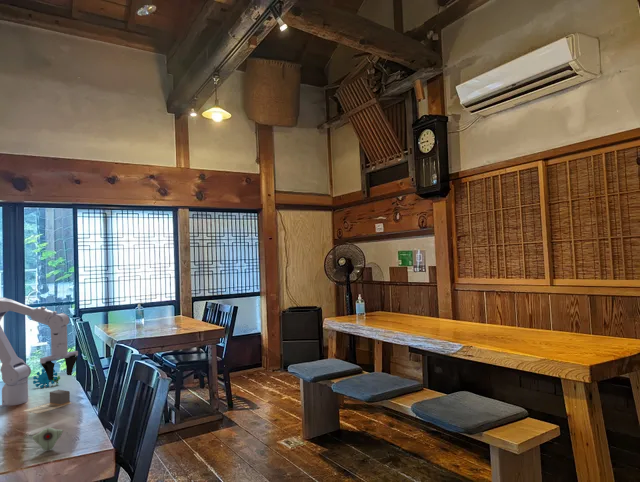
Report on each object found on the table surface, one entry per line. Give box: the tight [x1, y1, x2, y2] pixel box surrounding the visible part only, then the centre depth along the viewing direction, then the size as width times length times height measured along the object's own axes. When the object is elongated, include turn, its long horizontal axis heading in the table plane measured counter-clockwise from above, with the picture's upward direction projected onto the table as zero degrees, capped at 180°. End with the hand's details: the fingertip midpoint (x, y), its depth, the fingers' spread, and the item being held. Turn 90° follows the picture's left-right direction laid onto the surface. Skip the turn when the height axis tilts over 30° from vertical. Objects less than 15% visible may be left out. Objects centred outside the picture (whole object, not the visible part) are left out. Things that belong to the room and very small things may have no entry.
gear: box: [32, 368, 61, 389], centre depth 211 cm, size 11×6×10 cm
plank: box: [23, 402, 72, 415], centre depth 173 cm, size 10×13×1 cm
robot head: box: [31, 427, 64, 451], centre depth 133 cm, size 8×4×7 cm, turn 121°
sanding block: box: [49, 389, 71, 405], centre depth 177 cm, size 7×4×4 cm, turn 62°
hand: (60, 377), depth 182 cm, fingers open, 7 cm apart
